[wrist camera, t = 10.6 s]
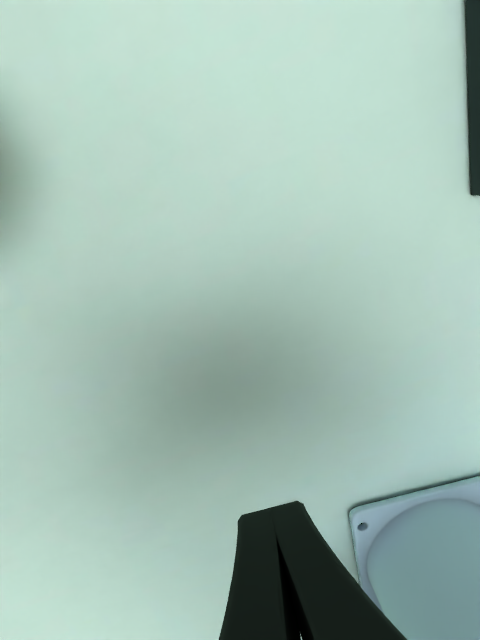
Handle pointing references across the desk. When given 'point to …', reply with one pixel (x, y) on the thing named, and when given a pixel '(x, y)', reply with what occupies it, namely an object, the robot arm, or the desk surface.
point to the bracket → (474, 89)
